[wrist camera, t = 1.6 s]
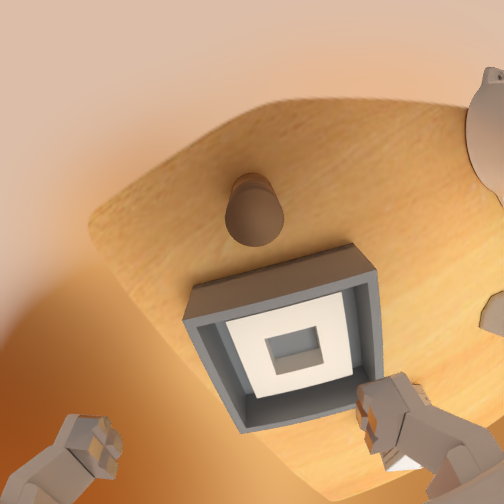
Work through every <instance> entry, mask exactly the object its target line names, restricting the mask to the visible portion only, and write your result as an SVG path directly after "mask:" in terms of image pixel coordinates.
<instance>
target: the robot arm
mask: <svg viewBox="0 0 504 504" xmlns="http://www.w3.org/2000/svg"><path fill="white" fill-rule="evenodd" d="M498 78H499V79H498ZM466 140H467V147H468V152H469V156H470V160H471V163H472V166H473V168H474V170H475V172H476V174H477V176H478V177H479V179H480V180H481V182H482V183H483V184H484V185H485V186H486V187H487V188H488V189H490V190H491V191H493V192H494V193H495V194H496V195H497V196H498V198H499V200H500V202H501V204H502V206H503V207H504V71H503V70H499V69H497V68H494V67H487V68H486V69H485V71H484V74H483V80H482V85H481V87H480V88H479V90H478V91H477V92H476V94H475V95H474V97H473V99H472V101H471V103H470V106H469V110H468V114H467V121H466ZM357 396H358V398H359V400H358V401H357V402H356V416H357V420H358V424H359V426H360V429H361V430H363V431H365V432H366V433H365V442H366V444H367V447H368V449H369V452H370V454H371V455H372V454H375V453H379V452H382V451H385V450H389V449H392V448H395V447H396V449H397V450H399V451H400V452H402V453H403V454H405V455H406V456H408V457H409V458H411V459H412V460H414V461H415V462H417V463H418V464H420V465H421V466H423V467H424V468H426V469H427V470H429V471H430V472H432V473H433V474H435V476H434V477H433V479H432V481H431V482H430V484H429V485H428V487H427V489H426V492H427V495H428V497H429V499H430V500H429V501H427V502H425V503H423V504H504V452H503V451H502V449H501V448H500V446H499V445H498V443H497V442H496V440H495V439H494V437H493V436H492V435H491V433H490V431H489V430H488V429H486V428H484V427H482V426H479V425H477V424H474V423H472V422H469V421H467V420H465V419H462V418H460V417H458V416H455V415H453V414H451V413H448V412H446V411H444V410H442V409H439V408H437V407H435V406H433V405H430V404H429V405H425V404H424V402H423V400H422V399H421V397H420V396H419V394H418V393H417V391H416V389H415V388H414V386H413V385H412V383H411V382H410V380H409V379H408V377H407V376H406V374H405V373H404V372H400V373H397V374H394V375H391V376H388V377H384V378H381V379H378V380H374V381H371V382H368V383H364V384H361V385H358V387H357ZM122 444H123V443H122V439H121V436H120V434H119V433H118V432H117V431H116V430H115V429H113V428H112V427H111V422H110V420H109V419H108V418H107V417H104V416H92V415H78V414H69V415H68V416H67V417H66V419H65V421H64V423H63V425H62V427H61V429H60V431H59V433H58V436H57V438H56V440H55V442H54V444H53V446H49V447H47V448H46V449H45V450H43V451H42V452H41V453H40V454H38V455H37V456H36V457H34V458H33V459H31V460H30V461H29V462H27V463H26V464H25V465H23V466H22V467H21V468H19V469H18V470H17V471H15V472H14V473H13V474H11V475H10V477H9V479H8V482H7V484H6V486H5V488H4V490H3V493H2V495H1V498H0V504H72V503H73V502H74V501H75V500H76V499H77V498H78V497H79V496H80V495H81V493H83V491H84V490H85V489H86V488H87V487H88V486H89V485H90V484H91V482H92V481H93V480H94V479H95V478H103V479H113V480H114V479H115V477H116V473H117V469H118V463H117V461H116V459H118V458H119V457H120V456H121V453H122V450H123V445H122Z"/></svg>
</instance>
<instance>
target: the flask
mask: <svg viewBox="0 0 504 504" xmlns="http://www.w3.org/2000/svg"><path fill="white" fill-rule="evenodd" d="M479 328H481V329H484V330H486V331H488V332H491V333H494V334H497V335H500V336H502V337H504V291H503V292H500V293H498V294H496V295H494V296H492V297H491V298H490V300H489V302H488V303H487V305H486V307H485V308H484V310H483V312H482V315H481V321H480V327H479Z"/></svg>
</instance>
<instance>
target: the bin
mask: <svg viewBox="0 0 504 504" xmlns="http://www.w3.org/2000/svg"><path fill="white" fill-rule="evenodd" d="M182 321H183V323H184V325H185V328H186V330H187V332H188V334H189V336H190V338H191V340H192V342H193V345H194V347H195V349H196V351H197V353H198V355H199V357H200V359H201V361H202V363H203V365H204V367H205V369H206V371H207V373H208V375H209V377H210V379H211V381H212V383H213V385H214V386H215V388H216V390H217V392H218V394H219V396H220V398H221V400H222V402H223V403H224V405H225V407H226V409H227V411H228V413H229V414H230V416H231V418H232V420H233V422H234V423H235V425H236V427H237V429H238V430H239V432H240V433H241V434H243V433H250V432H256V431H261V430H267V429H272V428H277V427H282V426H287V425H292V424H296V423H301V422H305V421H309V420H314V419H318V418H321V417H325V416H329V415H333V414H336V413H340V412H343V411H347V410H350V409H354V408H356V402H357V401H358V400H359V398H358V396H357V387H358V385H361V384H364V383H368V382H371V381H374V380H378V379H381V378H384V367H383V340H382V323H381V309H380V297H379V286H378V277H377V269H376V268H375V267H374V266H373V265H372V264H371V262H370V261H369V260H368V259H367V258H366V257H365V256H364V255H363V253H362V252H361V251H360V250H359V249H358V248H357V247H356V246H355V245H354V243H352V244H348V245H345V246H341V247H337V248H334V249H330V250H327V251H323V252H319V253H316V254H312V255H308V256H305V257H301V258H297V259H294V260H290V261H286V262H282V263H279V264H275V265H271V266H268V267H264V268H260V269H256V270H253V271H249V272H245V273H241V274H237V275H234V276H230V277H226V278H222V279H218V280H214V281H210V282H207V283H203V284H199V285H195V286H193V289H192V292H191V295H190V298H189V301H188V304H187V307H186V310H185V313H184V316H183V320H182Z"/></svg>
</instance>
